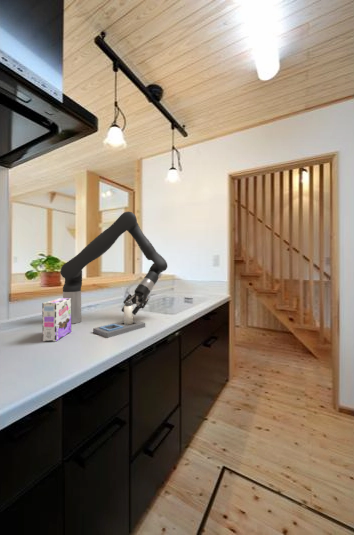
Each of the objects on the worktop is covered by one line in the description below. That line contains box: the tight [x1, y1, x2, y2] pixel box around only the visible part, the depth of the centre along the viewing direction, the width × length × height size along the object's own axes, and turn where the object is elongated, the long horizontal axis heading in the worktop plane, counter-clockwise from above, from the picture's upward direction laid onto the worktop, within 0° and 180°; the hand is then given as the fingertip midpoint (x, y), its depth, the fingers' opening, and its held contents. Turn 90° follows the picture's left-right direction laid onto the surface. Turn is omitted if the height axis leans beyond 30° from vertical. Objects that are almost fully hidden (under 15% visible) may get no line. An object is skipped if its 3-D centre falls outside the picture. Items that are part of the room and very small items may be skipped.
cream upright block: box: [123, 301, 134, 326], centre depth 115 cm, size 4×4×13 cm
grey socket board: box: [92, 319, 146, 339], centre depth 111 cm, size 12×22×2 cm, turn 140°
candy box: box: [41, 297, 72, 342], centre depth 101 cm, size 14×6×16 cm, turn 179°
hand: (127, 312), depth 115 cm, fingers open, 8 cm apart
